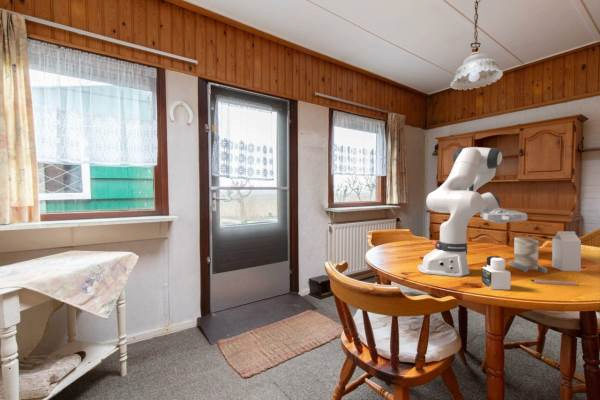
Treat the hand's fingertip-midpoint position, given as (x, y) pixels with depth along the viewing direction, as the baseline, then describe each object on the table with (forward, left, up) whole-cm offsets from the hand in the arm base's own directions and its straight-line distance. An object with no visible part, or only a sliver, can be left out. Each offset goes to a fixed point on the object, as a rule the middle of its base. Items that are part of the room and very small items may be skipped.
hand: (511, 218), depth 146 cm
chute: (0, -22, -24) cm, 32 cm away
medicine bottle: (-25, -43, -24) cm, 55 cm away
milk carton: (+17, -13, -24) cm, 32 cm away
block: (0, -14, -23) cm, 27 cm away
